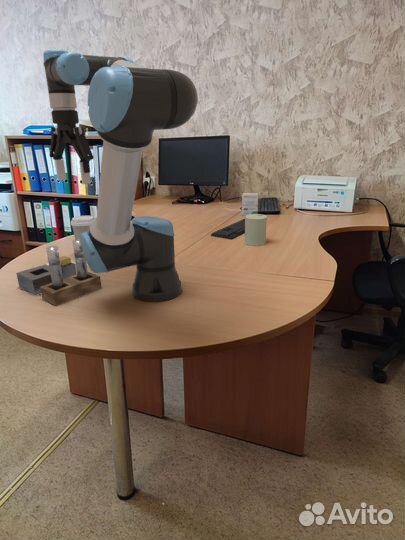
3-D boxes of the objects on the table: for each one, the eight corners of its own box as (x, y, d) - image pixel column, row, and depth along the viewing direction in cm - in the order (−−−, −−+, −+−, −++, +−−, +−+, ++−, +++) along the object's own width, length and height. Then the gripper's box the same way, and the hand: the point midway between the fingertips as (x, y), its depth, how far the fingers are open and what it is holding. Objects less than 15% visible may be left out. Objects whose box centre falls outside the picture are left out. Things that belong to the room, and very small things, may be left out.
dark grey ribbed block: (231, 240, 171) (231, 236, 170) (210, 237, 177) (210, 232, 176) (266, 223, 198) (266, 219, 198) (246, 220, 204) (246, 217, 204)
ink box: (257, 214, 215) (258, 192, 211) (257, 216, 211) (258, 194, 207) (242, 213, 217) (242, 192, 212) (241, 215, 212) (242, 194, 208)
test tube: (91, 288, 123) (85, 240, 118) (83, 291, 121) (76, 242, 115) (85, 286, 125) (79, 238, 120) (77, 289, 123) (70, 240, 117)
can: (270, 242, 166) (271, 214, 162) (257, 247, 160) (258, 219, 155) (252, 238, 172) (253, 211, 168) (239, 243, 166) (240, 215, 161)
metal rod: (68, 297, 117) (60, 247, 112) (58, 301, 115) (49, 250, 109) (62, 295, 119) (54, 245, 113) (52, 298, 117) (43, 248, 111)
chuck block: (81, 278, 131) (79, 265, 129) (35, 295, 119) (32, 280, 117) (64, 272, 137) (62, 259, 135) (19, 287, 125) (16, 273, 123)
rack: (87, 282, 128) (86, 271, 127) (101, 287, 124) (100, 276, 122) (42, 299, 117) (39, 286, 115) (55, 305, 112) (53, 293, 111)
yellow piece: (72, 274, 132) (70, 257, 130) (64, 277, 130) (61, 260, 128) (67, 272, 134) (64, 255, 132) (59, 274, 132) (56, 258, 129)
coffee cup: (69, 257, 152) (64, 219, 147) (84, 249, 161) (79, 214, 155) (90, 259, 149) (85, 221, 144) (104, 252, 157) (100, 215, 152)
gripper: (100, 108, 111) (108, 183, 118) (53, 110, 126) (62, 177, 133) (77, 108, 105) (87, 187, 113) (31, 110, 120) (42, 180, 128)
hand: (74, 182), depth 123 cm, fingers open, 13 cm apart
